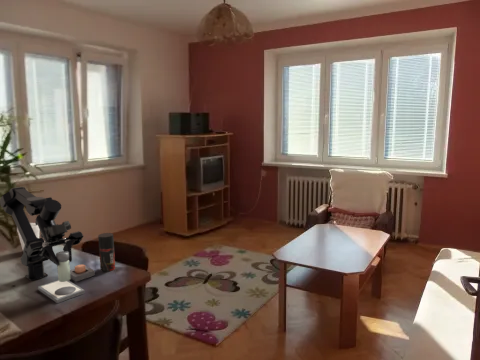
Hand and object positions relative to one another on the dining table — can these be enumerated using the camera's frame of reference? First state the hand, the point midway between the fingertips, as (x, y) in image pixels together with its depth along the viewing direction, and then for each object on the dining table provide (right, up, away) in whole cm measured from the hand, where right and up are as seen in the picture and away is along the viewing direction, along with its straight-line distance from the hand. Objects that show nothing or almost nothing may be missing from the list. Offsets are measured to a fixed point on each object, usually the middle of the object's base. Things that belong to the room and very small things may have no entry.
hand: (64, 263), depth 134 cm
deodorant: (+6, -8, +26) cm, 28 cm away
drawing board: (-4, -12, +5) cm, 13 cm away
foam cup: (-38, -5, +46) cm, 60 cm away
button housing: (-2, -9, +19) cm, 21 cm away
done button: (-2, -8, +19) cm, 20 cm away
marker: (-1, -6, +2) cm, 7 cm away
